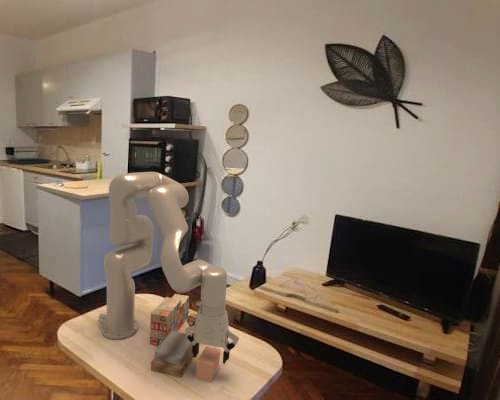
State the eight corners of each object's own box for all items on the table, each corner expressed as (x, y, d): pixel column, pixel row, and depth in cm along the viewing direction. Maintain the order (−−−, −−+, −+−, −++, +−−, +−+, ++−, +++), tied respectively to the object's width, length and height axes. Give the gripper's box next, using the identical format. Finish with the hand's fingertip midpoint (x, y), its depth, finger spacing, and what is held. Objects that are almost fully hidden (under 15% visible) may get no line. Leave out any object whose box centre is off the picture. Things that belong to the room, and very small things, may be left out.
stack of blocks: (174, 314, 138) (175, 286, 136) (188, 317, 137) (190, 289, 134) (149, 344, 117) (150, 312, 115) (166, 348, 116) (167, 315, 114)
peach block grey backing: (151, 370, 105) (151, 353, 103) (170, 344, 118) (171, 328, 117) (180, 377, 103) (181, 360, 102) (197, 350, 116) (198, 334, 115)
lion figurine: (185, 340, 121) (186, 318, 119) (186, 332, 126) (187, 310, 125) (226, 341, 123) (227, 318, 121) (225, 332, 128) (227, 311, 126)
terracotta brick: (195, 378, 103) (196, 361, 102) (204, 362, 110) (205, 346, 109) (211, 382, 102) (212, 365, 101) (219, 365, 110) (220, 349, 108)
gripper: (181, 308, 100) (179, 360, 103) (237, 318, 97) (234, 371, 100) (190, 297, 107) (189, 346, 110) (243, 306, 104) (240, 355, 107)
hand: (210, 357), depth 105 cm, fingers open, 9 cm apart
